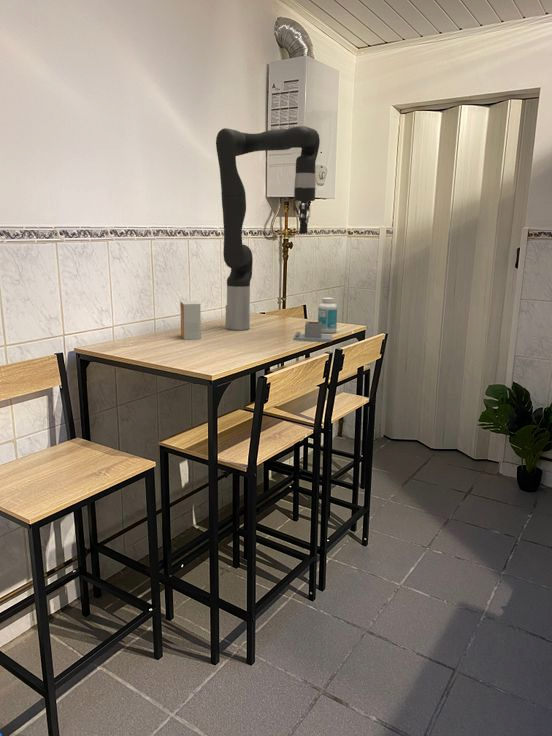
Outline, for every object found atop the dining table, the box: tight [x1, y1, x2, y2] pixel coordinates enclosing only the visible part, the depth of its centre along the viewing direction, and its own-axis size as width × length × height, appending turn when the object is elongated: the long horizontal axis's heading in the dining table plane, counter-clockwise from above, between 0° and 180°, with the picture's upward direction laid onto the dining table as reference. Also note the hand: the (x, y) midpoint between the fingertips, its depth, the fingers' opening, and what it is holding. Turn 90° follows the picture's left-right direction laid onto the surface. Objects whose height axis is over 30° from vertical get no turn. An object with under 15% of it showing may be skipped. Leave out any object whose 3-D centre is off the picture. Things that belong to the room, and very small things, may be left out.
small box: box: [179, 300, 202, 340], centre depth 212 cm, size 8×6×13 cm
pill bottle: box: [317, 297, 338, 334], centre depth 229 cm, size 8×7×14 cm
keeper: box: [293, 331, 333, 343], centre depth 215 cm, size 14×9×5 cm, turn 84°
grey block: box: [304, 321, 322, 338], centre depth 214 cm, size 6×6×5 cm
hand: (303, 233), depth 210 cm, fingers open, 8 cm apart
